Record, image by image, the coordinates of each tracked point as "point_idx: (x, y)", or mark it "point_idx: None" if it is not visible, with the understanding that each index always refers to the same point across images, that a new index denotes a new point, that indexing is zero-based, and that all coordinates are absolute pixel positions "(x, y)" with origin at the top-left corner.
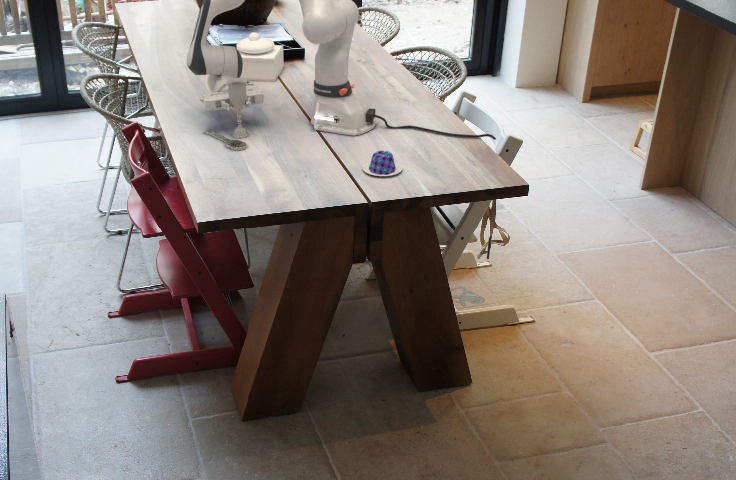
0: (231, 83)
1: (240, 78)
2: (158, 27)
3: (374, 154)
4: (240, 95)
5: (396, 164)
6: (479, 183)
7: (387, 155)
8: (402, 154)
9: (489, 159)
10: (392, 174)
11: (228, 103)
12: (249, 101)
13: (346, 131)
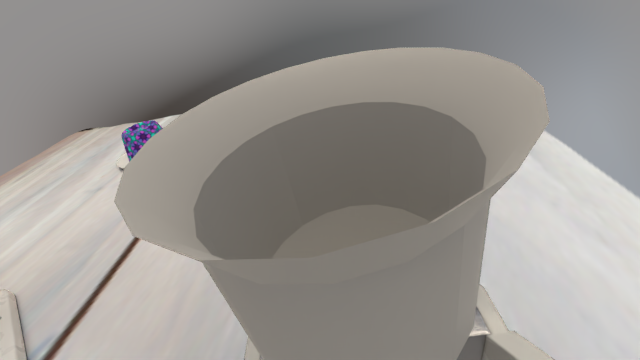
0: (433, 247)
1: (160, 237)
2: None
3: (150, 126)
4: (334, 179)
5: (122, 159)
6: (98, 134)
7: (133, 130)
8: (66, 194)
9: (5, 176)
10: None
11: (480, 335)
12: (247, 341)
13: (3, 304)
